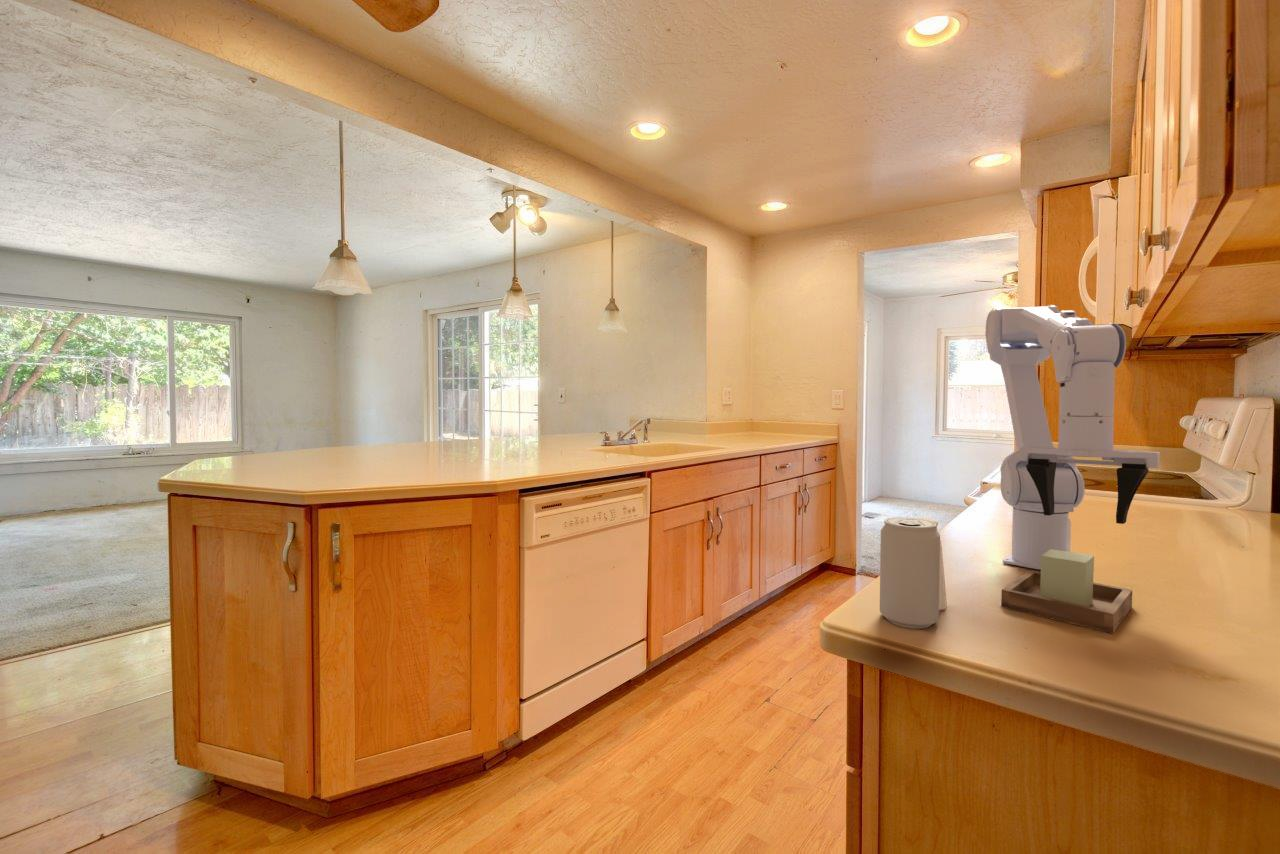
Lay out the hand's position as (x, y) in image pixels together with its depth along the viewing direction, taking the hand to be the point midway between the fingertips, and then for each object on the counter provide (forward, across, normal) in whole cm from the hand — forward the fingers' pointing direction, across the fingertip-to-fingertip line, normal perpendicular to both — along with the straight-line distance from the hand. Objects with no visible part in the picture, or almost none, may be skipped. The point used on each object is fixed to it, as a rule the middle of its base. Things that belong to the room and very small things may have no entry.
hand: (1083, 518), depth 75 cm
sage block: (+10, 0, -6) cm, 12 cm away
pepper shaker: (+11, -13, -18) cm, 25 cm away
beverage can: (+11, -12, -25) cm, 30 cm away
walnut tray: (+10, 0, -6) cm, 12 cm away
